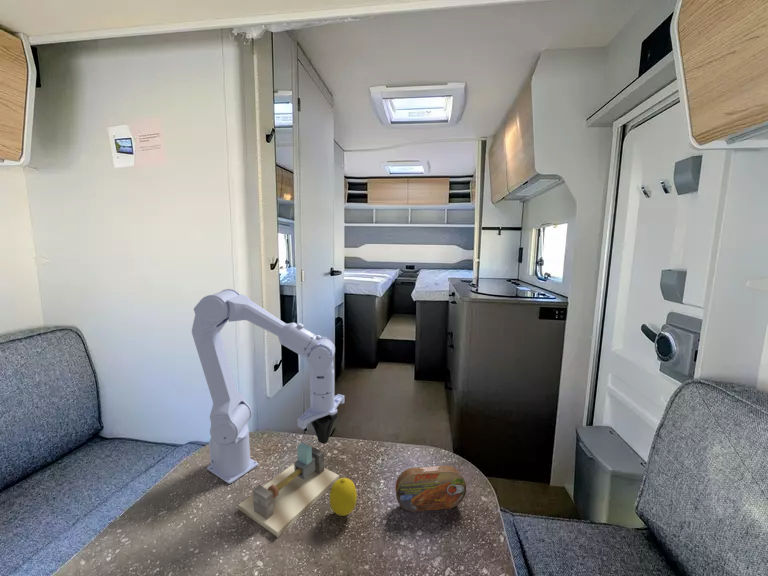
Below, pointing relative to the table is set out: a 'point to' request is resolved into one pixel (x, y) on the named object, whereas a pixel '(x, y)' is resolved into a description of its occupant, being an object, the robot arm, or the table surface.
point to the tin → (430, 488)
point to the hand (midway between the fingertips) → (323, 441)
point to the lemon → (343, 496)
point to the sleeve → (304, 460)
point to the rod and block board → (288, 496)
